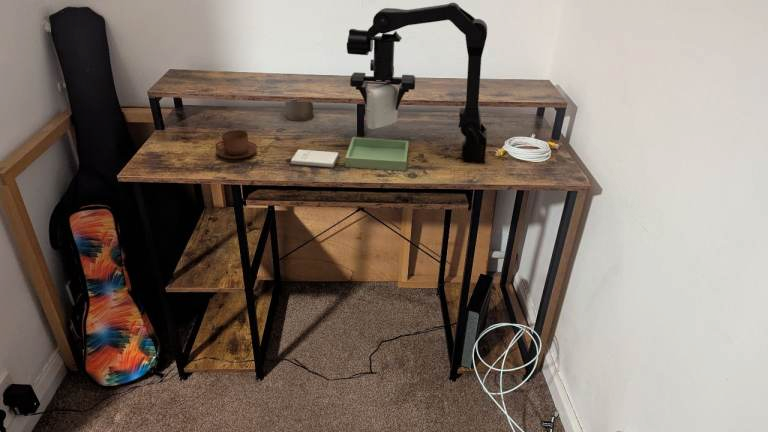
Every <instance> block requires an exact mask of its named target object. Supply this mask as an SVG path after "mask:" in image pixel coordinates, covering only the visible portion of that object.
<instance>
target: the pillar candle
mask: <svg viewBox="0 0 768 432" xmlns="http://www.w3.org/2000/svg"><path fill="white" fill-rule="evenodd" d="M284 104H285V117H286V118H287V119H288V120H290V121H292V122H293V121H294V122H303V121H309V120H311V119H313V118H314V105H313V104H314V103H311V102H285V101H284Z"/></svg>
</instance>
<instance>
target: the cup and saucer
mask: <svg viewBox="0 0 768 432" xmlns="http://www.w3.org/2000/svg"><path fill="white" fill-rule="evenodd" d="M257 151H258V145H257V144H256V143H255V142H252V141H250V140H249V134H248V132H246V131H245V130H240V129H239V130H238V129H235V130H234V129H233V130H228V131H225V132H224V133H222V134H221V140H219V141H217V142H216V143H215V153H216V155H218V156H220V157H221V158H224V159H228V160H241V159H245V158H249V157H251V156H252V155H254V154H255V153H256V152H257Z"/></svg>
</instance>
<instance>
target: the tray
mask: <svg viewBox="0 0 768 432" xmlns="http://www.w3.org/2000/svg"><path fill="white" fill-rule="evenodd" d="M408 152H409V140H402V139H401V140H400V139H387V138H386V139H385V138H368V137H354V136H353V137H351V141H350V143H349V146H348V148H347V151H346V154H345V157H344V167H345V168H359V169H372V170H374V169H375V170H386V171H387V170H388V171H403V172H404V171H405V172H406V171H407V163H408Z"/></svg>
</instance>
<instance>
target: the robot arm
mask: <svg viewBox="0 0 768 432" xmlns="http://www.w3.org/2000/svg"><path fill="white" fill-rule="evenodd" d="M443 21H449V22H451V23H452V24H453V25H454V26H455V27H456V28H457V29H458V31H460V32H461V33H462V34H463V35H464V37H465V45H466V50H467V76H466V97H465V106H464V107H460V108H459V113H458V117H459V121H458V128H460V132H461V134H462V135H463V136H464V141H462V145H461V158H462V160H463V161H462V162H465V163H478V164H479V163H481V164H485V163H486V151H487V145H488V141H487V135H488V129H487V128H486V126H485V125H484V124H483V123H482V117H481V116H482V115H481V109H480V103H479V100H480V88H481V87H480V84H481V70H482V57H483V53H484V49H485V46H486V41H487V38H488V26H487V23H486V22H485V21H484V20H482V19H481V18H475V17H474V16H472V14H470V13H469V12H467V11H466V10H464V9H463V8H462V7H460V5H459V4H458V3H457V2H450V3H446V4H441V5H440V4H439V5H432V6H425V7H418V8H417V7H416V8H411V9H402V8H396V7H395V8H390V7H384V8H381V9H380V10H379V11H377V12H376V13H375V15H373V18H372V25H371V26H370V27H369V28H368V29H367V30H365V29H356V28H350V29H349V30H348V36H347V42H346V52H347V54H348V55H356V56H357V55H360V56H369V54H370V53H372V52H373V59H370V63H369V65H370V66H369V69H370V71H371V72H373V75H372V76H367V74H366V72H358V71H357V72H355V71H354V72H353V73H352V74H351V75H350V78H349V86H350V87H352V88H355V90H356V91H358V92H359V93H360V95H361V96H362V99H363V101H364V104H365V106H366V108H367V93H368V91H369V90H368V88H369V87H368V84H372V85H373V84H375V85H382V84H392V85H395V86H398V85H399V86H398V97H397V102H396V110H397V109H399V107H400V104H401V102H402V99H403V98H404V95H405V94H406V93H409V92H410V90H411V91H413V90H415V89H416V76H415V75H414V74H402V75H401V77H394V76H395V65H394V64H395V63H394V62H395V60H394V59H395V43H400V42H401V41H402V36H401V35H400V34H399V33H398V32H397V30H399V29H401V28H405V27H407V26H414V25H421V24H429V23H436V22H443ZM392 32H393V33H392ZM379 34H381V35H379Z"/></svg>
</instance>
